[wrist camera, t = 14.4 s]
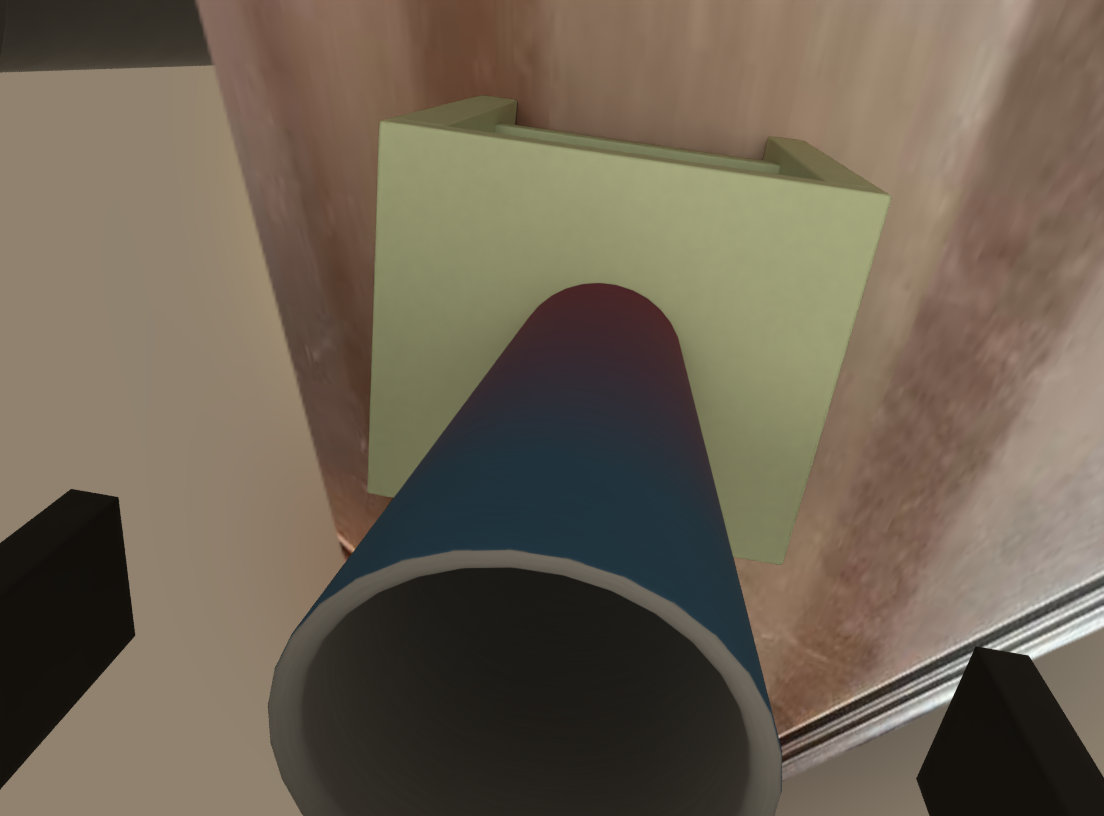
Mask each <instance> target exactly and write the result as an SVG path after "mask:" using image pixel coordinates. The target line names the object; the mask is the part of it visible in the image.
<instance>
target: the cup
mask: <svg viewBox="0 0 1104 816" xmlns="http://www.w3.org/2000/svg"><path fill="white" fill-rule="evenodd" d="M268 714H269V728H270V742H271V746H272V749H273V752H274V755H275V758H276V761H277V765H278V768H279V771H280V774H281V777H282V780H283V782H284V783H285V785H286V787H287V789H288V790H289V792H290V794H291V796H292V797H293V799H294V801H295V802H296V804H297V806H298V808H299V810H300V811H301V813H302V814H303V816H774V815H775V812H776V808H777V805H778V802H779V798H780V795H781V791H782V750H781V746H780V742H779V738H778V734H777V730H776V726H775V722H774V718H773V714H772V710H771V706H770V702H769V698H768V694H767V690H766V686H765V682H764V678H763V674H762V670H761V666H760V662H759V658H758V654H757V650H756V646H755V642H754V638H753V634H752V630H751V626H750V622H749V618H748V614H747V610H746V606H745V602H744V598H743V594H742V590H741V586H740V582H739V578H738V574H737V570H736V566H735V562H734V558H733V554H732V550H731V546H730V542H729V538H728V534H727V530H726V526H725V522H724V518H723V514H722V510H721V506H720V502H719V498H718V494H717V491H716V487H715V483H714V479H713V475H712V471H711V467H710V463H709V459H708V455H707V451H706V447H705V443H704V439H703V435H702V431H701V427H700V423H699V419H698V415H697V411H696V407H695V403H694V399H693V395H692V391H691V387H690V383H689V379H688V375H687V371H686V367H685V363H684V359H683V355H682V351H681V347H680V343H679V339H678V336H677V334H676V332H675V330H674V328H673V326H672V324H671V322H670V321H669V320H668V318H667V317H666V316H665V315H664V313H663V312H662V311H661V309H659V308H658V307H657V306H656V305H655V304H654V303H652V302H651V301H650V300H649V299H648V298H646V297H644V296H642V295H640V294H639V293H637V292H635V291H633V290H630V289H627V288H624V287H621V286H618V285H613V284H605V283H590V284H581V285H577V286H573V287H570V288H566V289H564V290H562V291H560V292H558V293H556V294H554V295H552V296H551V297H549V298H548V299H547V300H545V301H544V302H543V303H541V304H540V305H539V306H538V307H537V308H536V309H535V311H534V312H533V313H532V314H531V315H530V316H529V318H528V319H527V320H526V322H525V323H524V324H523V326H522V327H521V328H520V330H519V331H518V332H517V334H516V335H515V336H514V338H513V339H512V340H511V342H510V343H509V344H508V346H507V347H506V348H505V350H504V351H503V352H502V354H501V355H500V356H499V358H498V359H497V360H496V362H495V363H494V364H493V366H492V367H491V368H490V370H489V371H488V372H487V374H486V375H485V376H484V378H483V379H482V380H481V382H480V383H479V384H478V386H477V387H476V388H475V390H474V391H473V392H472V394H471V395H470V397H469V398H468V399H467V401H466V402H465V403H464V405H463V406H462V407H461V409H460V410H459V411H458V413H457V414H456V415H455V417H454V418H453V419H452V421H451V422H450V423H449V425H448V426H447V427H446V429H445V430H444V431H443V433H442V434H441V435H440V437H439V438H438V439H437V441H436V442H435V443H434V445H433V446H432V447H431V449H430V450H429V451H428V453H427V454H426V455H425V457H424V458H423V459H422V461H421V462H420V463H419V465H418V466H417V467H416V469H415V470H414V471H413V473H412V474H411V475H410V477H409V478H408V479H407V481H406V482H405V483H404V485H403V486H402V487H401V489H400V490H399V491H398V493H397V494H396V495H395V497H394V498H393V499H392V501H391V502H390V503H389V505H388V506H387V507H386V509H385V510H384V511H383V513H382V514H381V515H380V517H379V518H378V519H377V521H376V522H375V523H374V525H373V526H372V527H371V529H370V530H369V531H368V533H367V534H366V536H365V537H364V538H363V540H362V541H361V542H360V544H359V545H358V546H357V548H356V549H355V550H354V552H353V553H352V554H351V556H350V557H349V558H348V560H347V561H346V562H345V564H344V565H343V566H342V568H341V569H340V570H339V572H338V573H337V574H336V576H335V577H334V578H333V580H332V581H331V582H330V584H329V585H328V586H327V588H326V589H325V590H324V592H323V593H322V594H321V596H320V597H319V599H318V600H317V601H316V602H315V604H314V605H313V606H312V608H311V609H310V611H309V612H308V613H307V615H306V616H305V617H304V619H303V620H302V621H301V622H300V624H299V625H298V626H297V628H296V629H295V631H294V632H293V633H292V635H291V637H290V639H289V641H288V643H287V645H286V647H285V649H284V651H283V653H282V655H281V657H280V659H279V661H278V663H277V665H276V667H275V671H274V676H273V681H272V687H271V692H270V697H269V702H268Z"/></svg>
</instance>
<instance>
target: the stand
mask: <svg viewBox="0 0 1104 816" xmlns="http://www.w3.org/2000/svg"><path fill="white" fill-rule="evenodd" d="M516 110H517V100H514V99H507V98H500V97H493V96H486V95H481V96H477V97H473V98H469V99H465V100H461V101H457V102H453V103H449V104H445V105H441V106H437V107H433V108H429V109H425V110H421V111H417V112H413V113H409V114H405V115H401V116H397V117H393V118H390V119H386V120H383V121H380V123H379V149H378V180H377V211H376V242H375V273H374V304H373V334H372V365H371V396H370V427H369V458H368V488H367V491H368V493H370V494H376V495H382V496H388V497H393V498H394V497H395V495H396V494H397V493H398V491H399V490H400V489H401V487H402V486H403V485H404V483H405V482H406V481H407V479H408V478H409V477H410V475H411V474H412V473H413V471H414V470H415V469H416V467H417V466H418V465H419V463H420V462H421V461H422V459H423V458H424V457H425V455H426V454H427V453H428V451H429V450H430V449H431V447H432V446H433V445H434V443H435V442H436V441H437V439H438V438H439V437H440V435H441V434H442V433H443V431H444V430H445V429H446V427H447V426H448V425H449V423H450V422H451V421H452V419H453V418H454V417H455V415H456V414H457V413H458V411H459V410H460V409H461V407H462V406H463V405H464V403H465V402H466V401H467V399H468V398H469V397H470V395H471V394H472V392H473V391H474V390H475V388H476V387H477V386H478V384H479V383H480V382H481V380H482V379H483V378H484V376H485V375H486V374H487V372H488V371H489V370H490V368H491V367H492V366H493V364H494V363H495V362H496V360H497V359H498V358H499V356H500V355H501V354H502V352H503V351H504V350H505V348H506V347H507V346H508V344H509V343H510V342H511V340H512V339H513V338H514V336H515V335H516V334H517V332H518V331H519V330H520V328H521V327H522V326H523V324H524V323H525V322H526V320H527V319H528V318H529V316H530V315H531V314H532V313H533V312H534V311H535V309H536V308H537V307H538V306H539V305H540V304H541V303H543V302H544V301H545V300H547V299H548V298H549V297H551V296H552V295H554V294H556V293H558V292H560V291H562V290H564V289H566V288H570V287H573V286H577V285H581V284H590V283H605V284H613V285H618V286H621V287H624V288H627V289H630V290H633V291H635V292H637V293H639V294H640V295H642V296H644V297H646V298H648V299H649V300H650V301H651V302H652V303H654V304H655V305H656V306H657V307H658V308H659V309H661V311H662V312H663V313H664V315H665V316H666V317H667V318H668V320H669V321H670V322H671V324H672V326H673V328H674V330H675V332H676V334H677V336H678V339H679V343H680V347H681V351H682V355H683V359H684V363H685V367H686V371H687V375H688V379H689V383H690V387H691V391H692V395H693V399H694V403H695V407H696V411H697V415H698V419H699V423H700V427H701V431H702V435H703V439H704V443H705V447H706V451H707V455H708V459H709V463H710V467H711V471H712V475H713V479H714V483H715V487H716V491H717V494H718V498H719V502H720V506H721V510H722V514H723V518H724V522H725V526H726V530H727V534H728V538H729V542H730V546H731V550H732V554H733V557H736V558H742V559H748V560H753V561H759V562H765V563H771V564H776V565H782V563H783V561H784V557H785V554H786V551H787V547H788V544H789V541H790V537H791V534H792V531H793V527H794V524H795V520H796V517H797V514H798V510H799V507H800V504H801V500H802V497H803V494H804V490H805V487H806V484H807V480H808V477H809V473H810V470H811V467H812V463H813V460H814V457H815V453H816V450H817V447H818V443H819V440H820V437H821V433H822V430H823V426H824V423H825V420H826V416H827V413H828V410H829V406H830V403H831V400H832V396H833V393H834V390H835V386H836V383H837V380H838V376H839V373H840V369H841V366H842V363H843V359H844V356H845V353H846V349H847V346H848V343H849V339H850V336H851V333H852V329H853V326H854V322H855V319H856V316H857V312H858V309H859V306H860V302H861V299H862V296H863V292H864V289H865V286H866V282H867V279H868V275H869V272H870V269H871V265H872V262H873V259H874V255H875V252H876V249H877V245H878V242H879V239H880V235H881V232H882V228H883V225H884V222H885V218H886V215H887V212H888V208H889V205H890V202H891V195H889V194H888V193H886V192H884V191H883V190H881V189H880V188H878V187H876V186H875V185H873V184H872V183H870V182H869V181H867V180H865V179H864V178H862V177H861V176H859V175H857V174H856V173H854V172H853V171H851V170H849V169H848V168H846V167H845V166H843V165H841V164H840V163H838V162H837V161H835V160H834V159H832V158H830V157H829V156H827V155H826V154H824V153H822V152H821V151H819V150H818V149H816V148H814V147H813V146H811V145H810V144H808V143H807V142H805V141H800V140H793V139H786V138H779V137H772V136H770V137H768V140H767V145H766V149H765V153H764V158H763V161H762V160H755V159H748V158H741V157H734V156H727V155H720V154H713V153H707V152H700V151H693V150H686V149H679V148H672V147H665V146H658V145H651V144H644V143H638V142H631V141H624V140H617V139H610V138H603V137H596V136H589V135H582V134H575V133H569V132H562V131H555V130H548V129H541V128H534V127H527V126H520V125H515V120H516Z"/></svg>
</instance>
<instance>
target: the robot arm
mask: <svg viewBox="0 0 1104 816" xmlns="http://www.w3.org/2000/svg"><path fill="white" fill-rule="evenodd" d="M134 636H135V630H134V622H133V614H132V605H131V597H130V589H129V580H128V572H127V564H126V556H125V548H124V540H123V531H122V523H121V515H120V507H119V499H118V497H114V496H108V495H103V494H97V493H91V492H85V491H80V490H74V489H71V490H69V491H68V492H67V493H65V494H64V495H63V496H61V497H60V498H59V499H57V500H56V501H55V502H53V503H52V504H51V505H50V506H48V507H47V508H46V509H44V510H43V511H42V512H41V513H39V514H38V515H36V516H35V517H34V518H33V519H31V520H30V521H29V522H27V523H26V524H25V525H23V526H22V527H21V528H19V529H18V530H17V531H15V532H14V533H13V534H12V535H10V536H9V537H8V538H6V539H5V540H4V541H2V542H1V543H0V789H1V788H2V787H3V785H5V783H6V782H7V781H8V780H9V779H10V778H11V777H12V775H13V774H14V773H15V772H16V771H17V770H18V768H19V767H20V766H21V765H22V764H23V763H24V762H25V761H26V759H27V758H28V757H29V756H30V755H31V754H32V752H33V751H34V750H35V749H36V748H37V747H38V746H39V744H41V742H42V741H43V740H44V739H45V738H46V737H47V736H48V734H49V733H50V732H51V731H52V730H53V729H54V728H55V726H56V725H57V724H58V723H59V722H60V721H61V720H62V718H63V717H64V716H65V715H66V714H67V713H68V712H69V710H70V709H71V708H72V707H73V706H74V705H75V704H76V702H77V701H78V700H79V699H80V698H81V697H82V696H83V694H84V693H85V692H86V691H87V690H88V689H89V688H90V687H91V685H92V684H93V683H94V682H95V681H96V680H97V679H98V677H99V676H100V675H101V674H102V673H103V672H104V671H105V669H106V668H107V667H108V666H109V665H110V664H111V663H112V661H113V660H114V659H115V658H116V657H117V656H118V655H119V653H120V652H121V651H122V650H123V649H124V648H125V646H126V645H127V644H128V643H129V642H130V641H131V640H132V639H133V637H134ZM916 779H917V782H918V785H919V787H920V790H921V793H922V796H923V799H924V801H925V804H926V807H927V810H928V813H929V815H930V816H1104V777H1103V776H1102V774H1101V772H1100V771H1099V769H1098V768H1097V766H1096V764H1095V763H1094V761H1093V759H1092V758H1091V756H1090V754H1089V753H1088V751H1087V750H1086V748H1085V746H1084V745H1083V743H1082V742H1081V740H1080V738H1079V736H1078V735H1077V733H1076V732H1075V730H1074V728H1073V727H1072V725H1071V723H1070V722H1069V720H1068V719H1067V717H1066V715H1065V714H1064V712H1063V710H1062V709H1061V707H1060V706H1059V704H1058V702H1057V701H1056V699H1055V697H1054V696H1053V694H1052V693H1051V691H1050V689H1049V688H1048V686H1047V684H1046V683H1045V681H1044V680H1043V678H1042V676H1041V675H1040V673H1039V671H1038V670H1037V668H1036V666H1035V665H1034V663H1033V662H1032V660H1031V658H1030V657H1029V656H1028V655H1022V654H1016V653H1011V652H1005V651H999V650H993V649H988V648H982V647H975V649H974V651H973V654H972V656H971V658H970V660H969V663H968V665H967V667H966V669H965V671H964V674H963V676H962V678H961V680H960V683H959V685H958V687H957V689H956V691H955V694H954V696H953V698H952V700H951V703H950V705H949V707H948V709H947V711H946V714H945V716H944V718H943V720H942V723H941V725H940V727H939V730H938V732H937V734H936V736H935V738H934V741H933V743H932V745H931V747H930V749H929V751H928V754H927V756H926V758H925V760H924V763H923V765H922V767H921V770H920V771H919V774H918V776H917V778H916Z"/></svg>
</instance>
